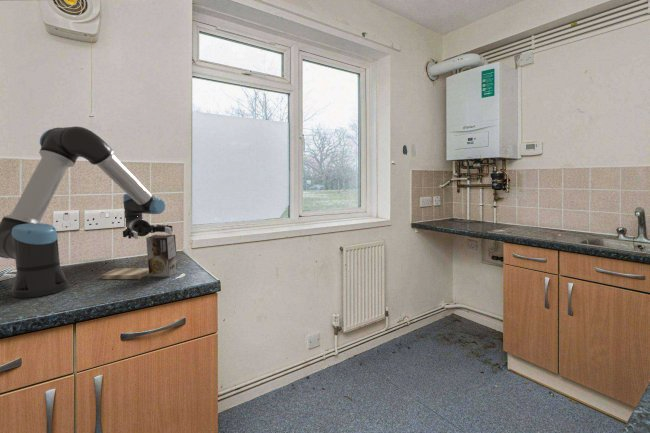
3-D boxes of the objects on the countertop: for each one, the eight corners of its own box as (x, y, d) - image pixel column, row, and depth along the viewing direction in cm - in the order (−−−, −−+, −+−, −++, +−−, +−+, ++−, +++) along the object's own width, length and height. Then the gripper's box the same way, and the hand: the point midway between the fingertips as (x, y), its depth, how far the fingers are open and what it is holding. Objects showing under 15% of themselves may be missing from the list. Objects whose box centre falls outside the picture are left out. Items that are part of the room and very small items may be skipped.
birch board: (101, 279, 132) (100, 275, 132) (116, 271, 142) (116, 268, 142) (139, 278, 133) (139, 275, 132) (152, 271, 143) (151, 268, 142)
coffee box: (178, 272, 141) (176, 234, 139) (169, 277, 135) (167, 237, 133) (157, 271, 142) (155, 234, 140) (148, 276, 136) (145, 237, 134)
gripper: (168, 231, 169) (184, 237, 153) (110, 239, 152) (122, 246, 136) (167, 217, 168) (183, 221, 152) (108, 222, 151) (120, 228, 135)
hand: (154, 233), depth 144 cm, fingers open, 13 cm apart
